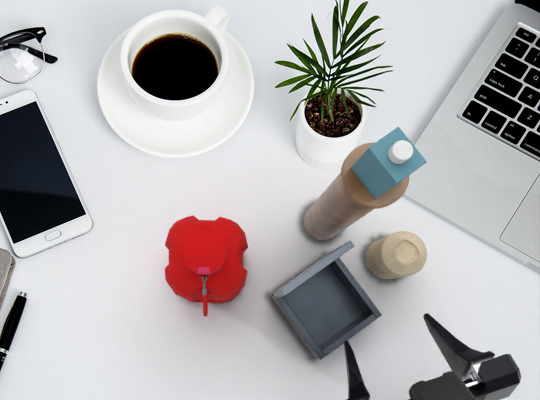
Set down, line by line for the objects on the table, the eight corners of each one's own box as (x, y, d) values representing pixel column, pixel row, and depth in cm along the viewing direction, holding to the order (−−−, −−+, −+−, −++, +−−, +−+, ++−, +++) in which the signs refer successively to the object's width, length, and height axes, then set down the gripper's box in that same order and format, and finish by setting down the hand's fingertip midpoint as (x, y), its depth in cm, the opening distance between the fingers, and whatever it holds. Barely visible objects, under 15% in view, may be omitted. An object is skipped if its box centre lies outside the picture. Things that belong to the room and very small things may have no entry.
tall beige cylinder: (352, 227, 84) (423, 181, 55) (317, 252, 84) (369, 220, 55) (326, 192, 86) (381, 129, 56) (291, 217, 85) (328, 166, 56)
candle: (413, 252, 83) (439, 244, 74) (393, 287, 83) (417, 283, 73) (377, 231, 84) (398, 220, 74) (357, 265, 84) (376, 259, 74)
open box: (371, 314, 82) (382, 315, 77) (313, 356, 82) (320, 360, 76) (327, 256, 84) (335, 252, 78) (270, 296, 83) (274, 295, 78)
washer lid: (355, 246, 68) (350, 240, 68) (284, 296, 67) (280, 290, 67) (337, 254, 78) (334, 249, 78) (276, 298, 77) (272, 293, 77)
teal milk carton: (401, 180, 55) (433, 157, 47) (375, 199, 55) (402, 179, 47) (376, 149, 56) (403, 120, 48) (350, 167, 56) (372, 142, 47)
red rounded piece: (174, 314, 84) (154, 315, 59) (176, 234, 86) (158, 203, 61) (242, 317, 83) (250, 318, 58) (243, 236, 85) (252, 205, 60)
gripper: (582, 420, 51) (481, 265, 61) (371, 492, 51) (302, 326, 60) (544, 451, 60) (460, 312, 69) (364, 512, 60) (305, 365, 69)
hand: (385, 328), depth 67 cm, fingers open, 9 cm apart
